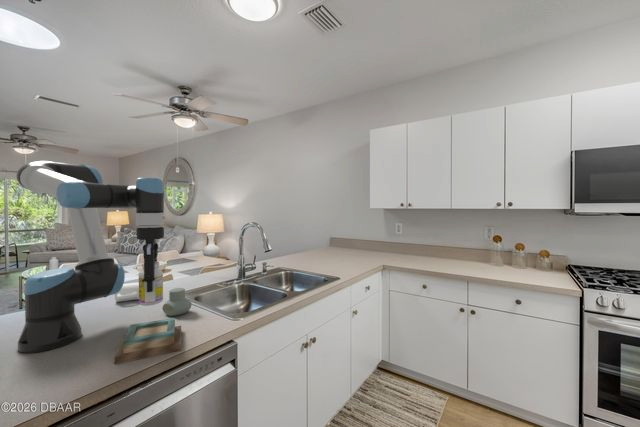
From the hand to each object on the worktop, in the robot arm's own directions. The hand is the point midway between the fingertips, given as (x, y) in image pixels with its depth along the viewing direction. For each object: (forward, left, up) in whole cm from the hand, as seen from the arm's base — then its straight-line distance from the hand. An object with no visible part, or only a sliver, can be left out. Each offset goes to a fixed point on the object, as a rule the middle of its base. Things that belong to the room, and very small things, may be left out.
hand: (151, 298), depth 89 cm
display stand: (0, 0, -15) cm, 15 cm away
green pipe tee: (+7, +27, -16) cm, 32 cm away
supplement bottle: (0, 0, -2) cm, 2 cm away
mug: (-14, +54, -16) cm, 58 cm away
